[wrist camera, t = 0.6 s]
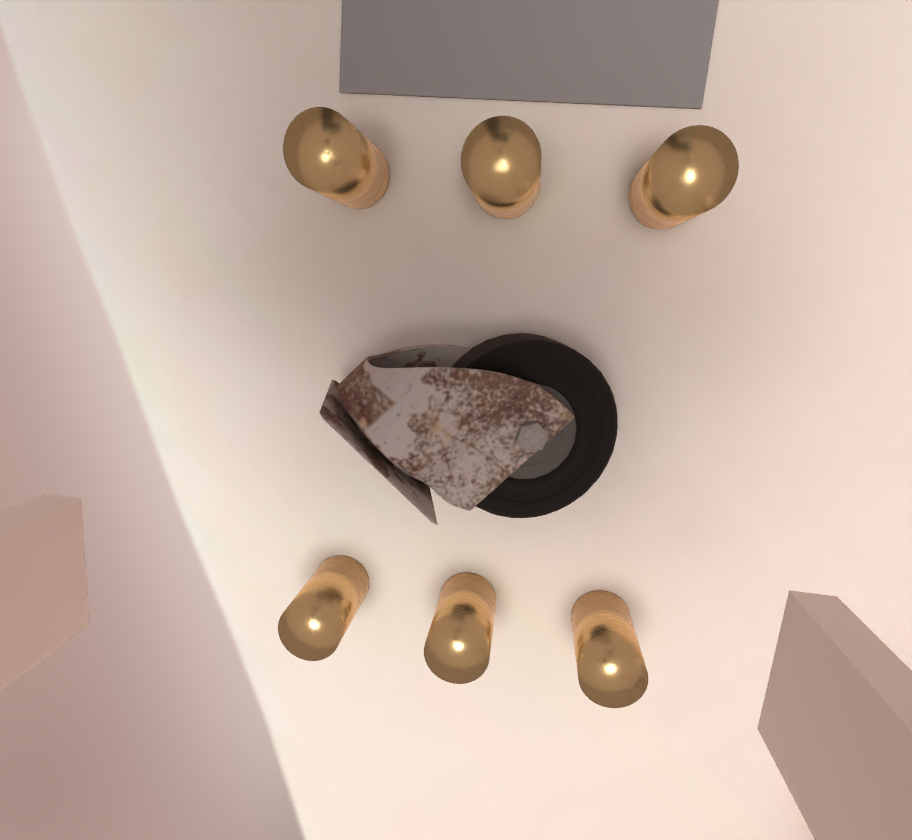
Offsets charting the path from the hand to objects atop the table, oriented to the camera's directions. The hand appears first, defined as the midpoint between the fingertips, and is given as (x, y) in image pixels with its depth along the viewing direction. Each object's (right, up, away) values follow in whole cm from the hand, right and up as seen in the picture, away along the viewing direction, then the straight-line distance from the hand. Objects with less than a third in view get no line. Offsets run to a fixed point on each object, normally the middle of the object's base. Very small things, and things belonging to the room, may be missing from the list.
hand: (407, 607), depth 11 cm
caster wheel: (+3, +4, +18) cm, 19 cm away
